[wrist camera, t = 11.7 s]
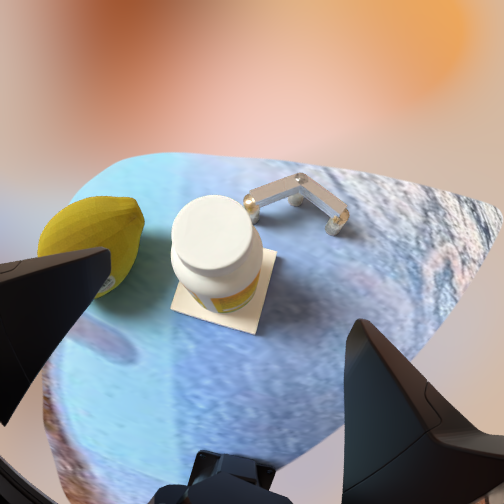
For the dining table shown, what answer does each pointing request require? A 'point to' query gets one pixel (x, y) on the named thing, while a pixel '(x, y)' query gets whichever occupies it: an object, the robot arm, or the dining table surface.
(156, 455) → the dining table surface
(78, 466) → the dining table surface
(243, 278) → the supplement bottle
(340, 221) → the bent steel bracket
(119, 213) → the lemon
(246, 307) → the cream coaster
